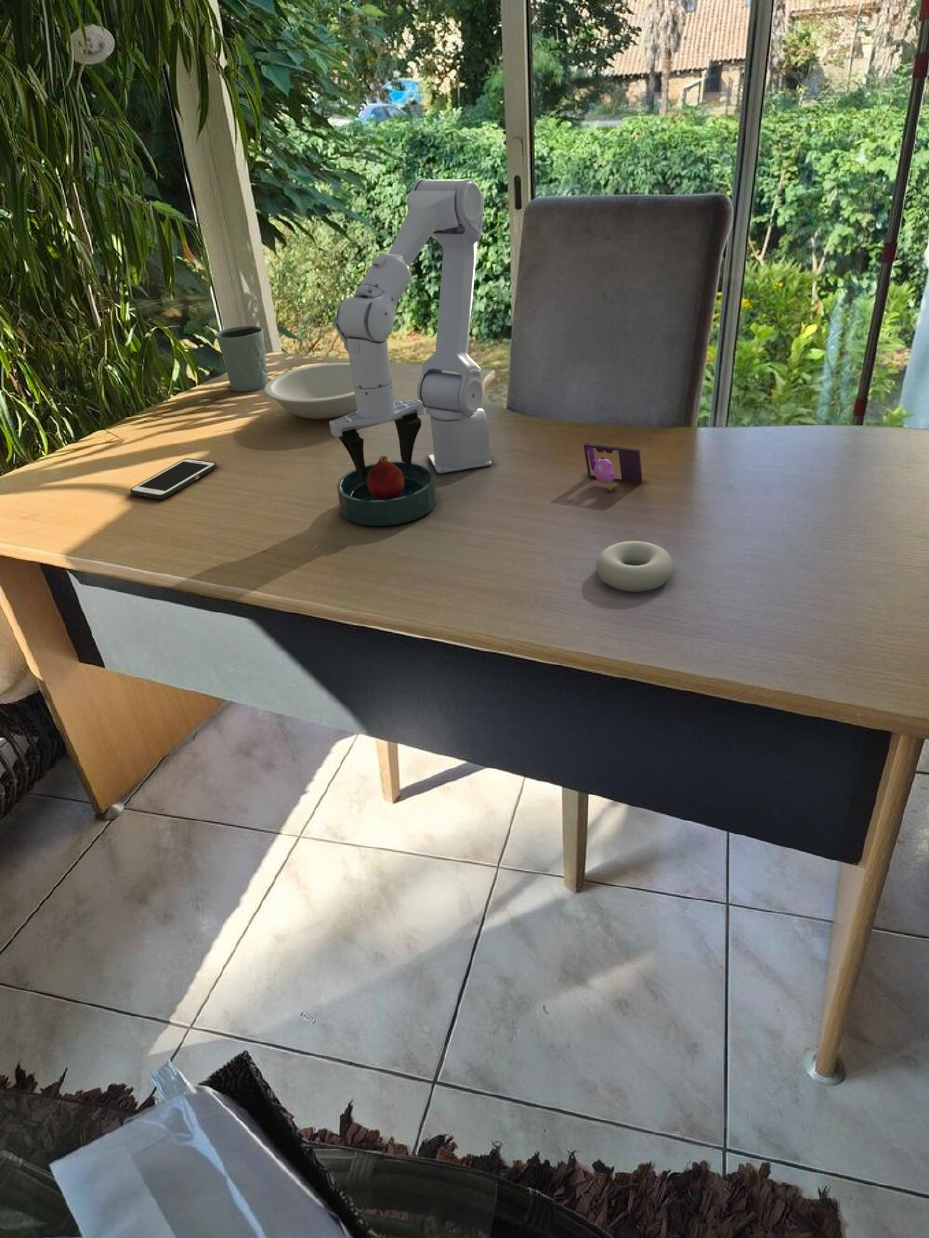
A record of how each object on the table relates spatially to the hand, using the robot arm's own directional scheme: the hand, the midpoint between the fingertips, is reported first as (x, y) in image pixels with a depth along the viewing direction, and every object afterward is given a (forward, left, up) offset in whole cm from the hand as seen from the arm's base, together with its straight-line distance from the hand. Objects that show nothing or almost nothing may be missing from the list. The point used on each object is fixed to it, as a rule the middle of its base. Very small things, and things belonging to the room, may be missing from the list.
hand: (384, 468), depth 135 cm
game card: (-35, +6, -7) cm, 36 cm away
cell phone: (+34, -25, -7) cm, 43 cm away
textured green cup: (+19, -76, -7) cm, 79 cm away
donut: (-27, +34, -7) cm, 44 cm away
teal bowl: (0, 0, -6) cm, 6 cm away
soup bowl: (+4, -49, -7) cm, 50 cm away
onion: (0, 0, -6) cm, 6 cm away
